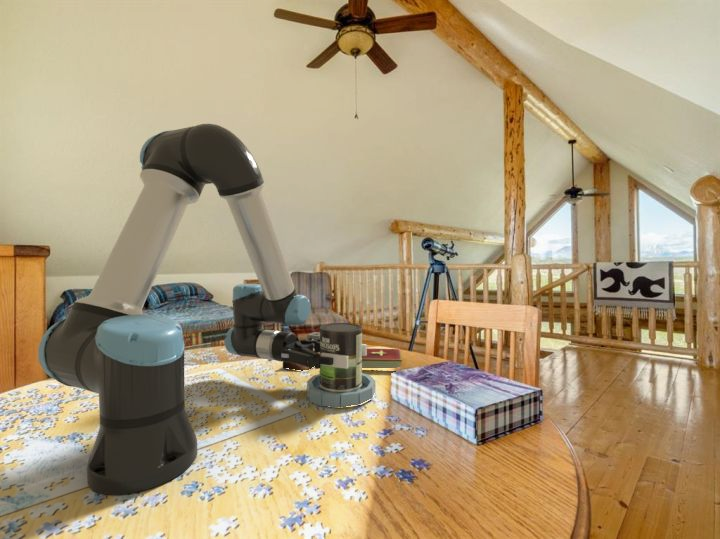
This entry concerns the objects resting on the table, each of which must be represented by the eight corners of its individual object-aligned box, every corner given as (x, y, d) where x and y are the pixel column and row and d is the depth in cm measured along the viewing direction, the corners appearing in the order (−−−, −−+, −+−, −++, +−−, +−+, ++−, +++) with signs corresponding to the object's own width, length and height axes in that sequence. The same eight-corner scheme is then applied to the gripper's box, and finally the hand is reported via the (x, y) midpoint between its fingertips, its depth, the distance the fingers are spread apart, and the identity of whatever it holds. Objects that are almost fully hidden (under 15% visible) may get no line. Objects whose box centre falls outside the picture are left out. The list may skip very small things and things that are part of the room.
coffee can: (340, 396, 80) (340, 333, 79) (310, 385, 87) (310, 326, 86) (371, 384, 87) (371, 326, 86) (341, 374, 94) (341, 320, 94)
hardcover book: (334, 359, 116) (334, 346, 116) (400, 360, 115) (400, 347, 115) (328, 371, 104) (328, 357, 104) (401, 373, 103) (402, 359, 103)
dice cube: (307, 348, 127) (307, 334, 127) (314, 345, 132) (314, 331, 132) (319, 350, 125) (319, 336, 125) (326, 346, 130) (326, 333, 130)
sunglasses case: (306, 372, 102) (296, 351, 103) (289, 382, 105) (279, 360, 106) (337, 356, 118) (328, 337, 119) (322, 364, 121) (313, 346, 122)
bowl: (384, 403, 82) (384, 390, 82) (313, 412, 77) (313, 398, 77) (363, 379, 97) (363, 368, 97) (303, 385, 92) (303, 373, 92)
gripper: (302, 349, 104) (374, 358, 95) (249, 373, 83) (335, 388, 75) (302, 323, 104) (374, 330, 95) (249, 341, 83) (335, 352, 74)
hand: (357, 355), depth 85 cm, fingers closed on coffee can, 10 cm apart
